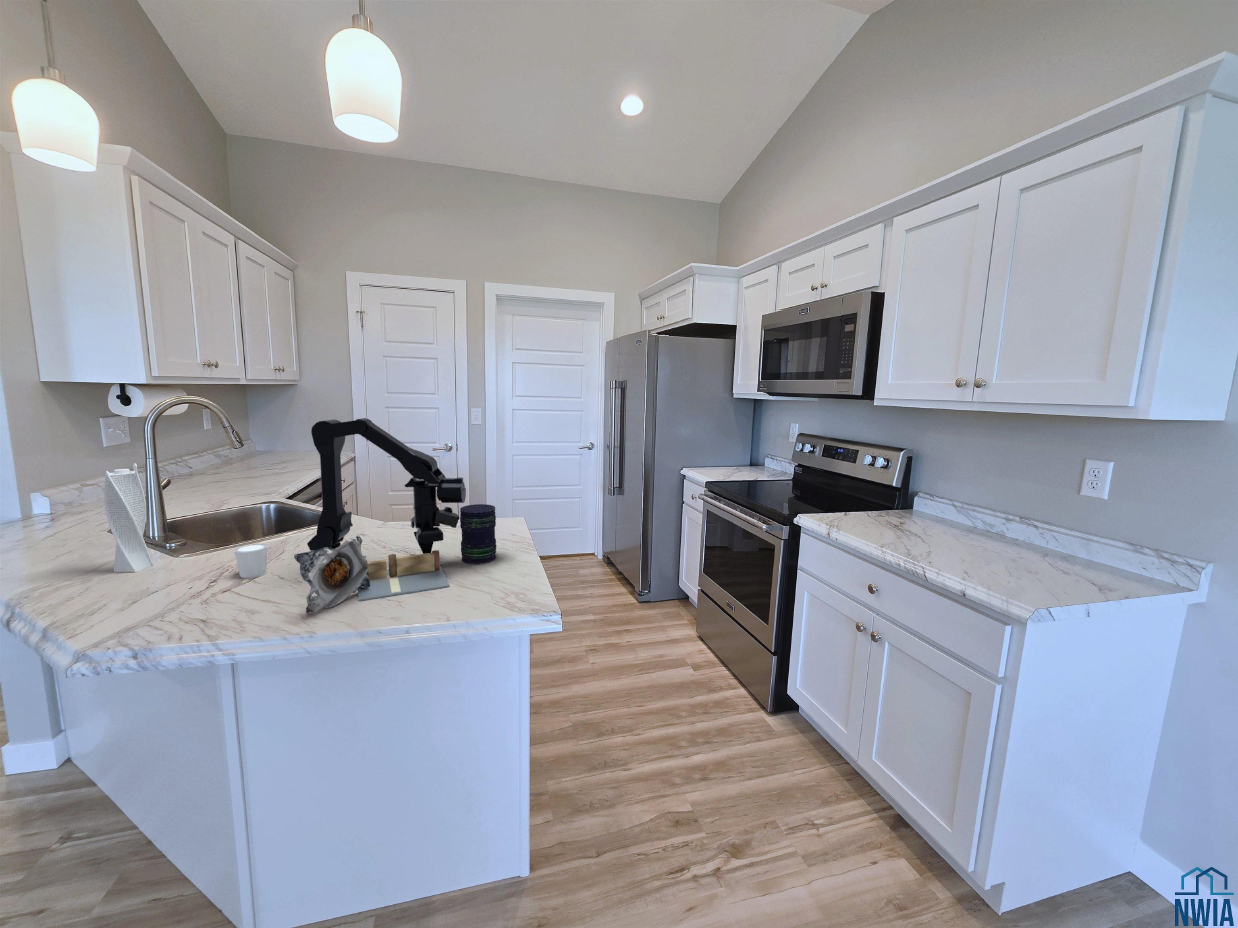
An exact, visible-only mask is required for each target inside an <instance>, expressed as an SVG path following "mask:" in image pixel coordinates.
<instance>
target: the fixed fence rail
mask: <svg viewBox="0 0 1238 928" xmlns="http://www.w3.org/2000/svg"><path fill="white" fill-rule="evenodd" d="M365 564H366V565H367V566H368V573H369V579H370V581H372V580H379V579H386V578H387V570H388V565H387V564H388V563H387V559H381V560H373V561H368V560H366V559H365Z"/></svg>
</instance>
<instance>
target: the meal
mask: <svg viewBox="0 0 1238 928" xmlns="http://www.w3.org/2000/svg"><path fill="white" fill-rule="evenodd" d="M362 544H363V539H362V538H361V536H360V535H356V536H355V537H353V538H350V539H346V540H345V541H344V542H342V544H341V546H339V547H337V548H336V549H331V548H322V549H319V550H316V551H314V550H313V551H310V550H309V551H306V552H301V553H296V554H294V555H293V558H294V560H295V561H296V562H297V563H299V571H300V572H299V573H300V575H301V577H302V580H303V581H305V582H307V584H308V585H309V586H310V587H311V588H310V591H309V593H308V594H307V596H306V602H307V606H306V608H305V613H306V614H309V613H315V612H317V611H318V610H320V609H323V608H325V609H326V608H333V607H335V606H337V605H339V604H340V603H342V602H343V601H345V600H346V599H347V598H348V597H349V596H350V595H351V594H355V593H356V592H358V590H360V589H364V587H366V588H368V587H370V579H369V573H368V566H367V565H366V564H365V560H366V558H367V555H363V551H362ZM361 586H363V587H361ZM314 594H316V595H314ZM313 595H314V596H313Z"/></svg>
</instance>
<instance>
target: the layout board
mask: <svg viewBox="0 0 1238 928" xmlns="http://www.w3.org/2000/svg"><path fill="white" fill-rule="evenodd" d="M361 587H363V586H361ZM438 588H440V589H444V588H445V589H446V588H451V585H450V584H449V581H448V579H447V577H446V575H445V572H444V571H443V568H442V566H441V565H440V570H437V571H428V572H421V573H414V574H407V575H400V576H394V577H390V576H389V568H387V578H386V579H379V580H372V581H370V587H368V588H366V587H364V589H360V590H357V594H358V602H363V601H371V600H375V599H382V598H389V597H394V596H401V595H402V596H403V595H407V594H413V593H414V592H415V593H420V591H421V592H425V591H424V590H427V591H432V589H434V590H439V589H438Z"/></svg>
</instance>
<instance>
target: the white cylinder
mask: <svg viewBox="0 0 1238 928" xmlns="http://www.w3.org/2000/svg"><path fill="white" fill-rule="evenodd" d="M234 555H235V560H236V564H237V568H238V569H237V570H238V573H239V578H242V579H243V578H244V579H250V578H251V579H252V578H257V577H261V576H263V575H265V574H267V569H268V545H266V544H259V543H258V544H248V545H244V546H241V547H237V548H236V549H234Z"/></svg>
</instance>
